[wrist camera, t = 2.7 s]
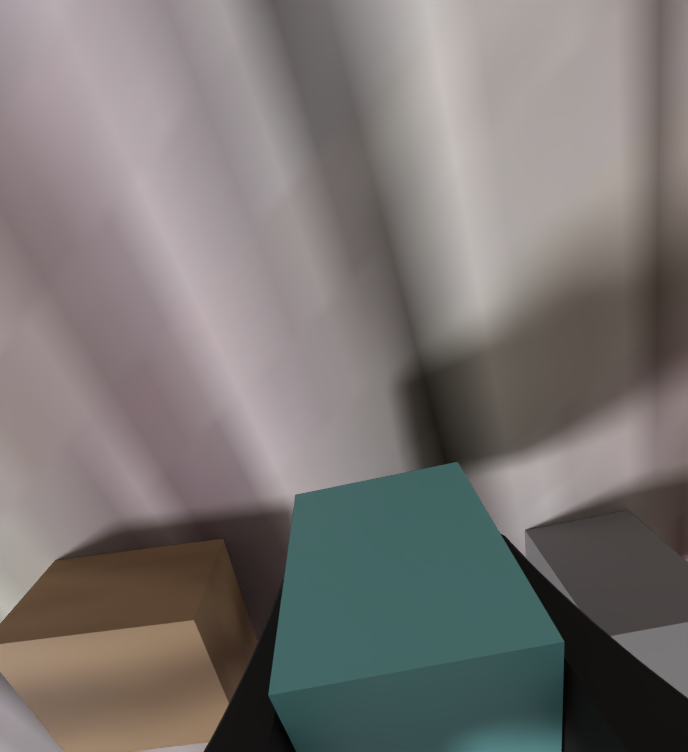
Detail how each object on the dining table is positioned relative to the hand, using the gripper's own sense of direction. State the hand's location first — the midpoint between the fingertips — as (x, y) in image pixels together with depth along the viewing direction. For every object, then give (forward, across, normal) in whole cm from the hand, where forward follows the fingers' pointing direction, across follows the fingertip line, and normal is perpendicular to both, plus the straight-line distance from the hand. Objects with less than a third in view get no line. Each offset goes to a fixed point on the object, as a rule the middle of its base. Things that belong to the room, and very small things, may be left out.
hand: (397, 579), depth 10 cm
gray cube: (+6, -9, +8) cm, 13 cm away
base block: (+6, +12, +6) cm, 15 cm away
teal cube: (+2, 0, 0) cm, 2 cm away
